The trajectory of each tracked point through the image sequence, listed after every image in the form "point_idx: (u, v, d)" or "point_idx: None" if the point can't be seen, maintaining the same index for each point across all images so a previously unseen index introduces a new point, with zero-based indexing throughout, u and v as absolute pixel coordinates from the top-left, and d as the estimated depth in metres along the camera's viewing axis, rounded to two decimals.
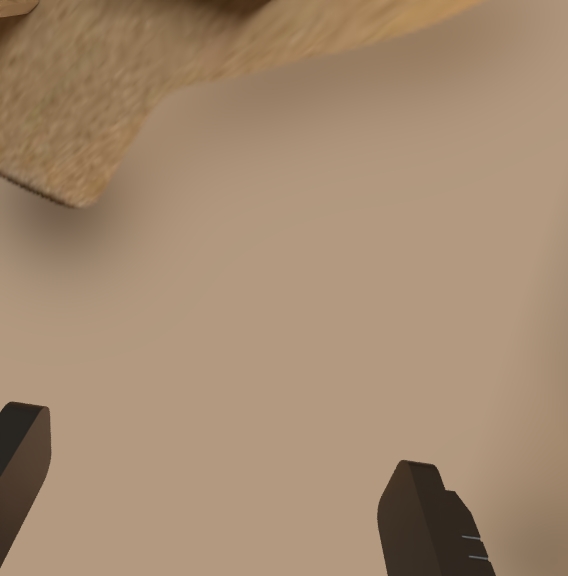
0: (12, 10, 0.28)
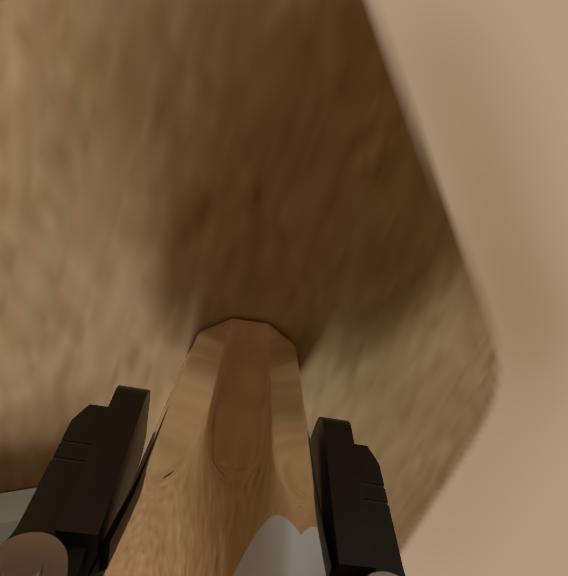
0: None
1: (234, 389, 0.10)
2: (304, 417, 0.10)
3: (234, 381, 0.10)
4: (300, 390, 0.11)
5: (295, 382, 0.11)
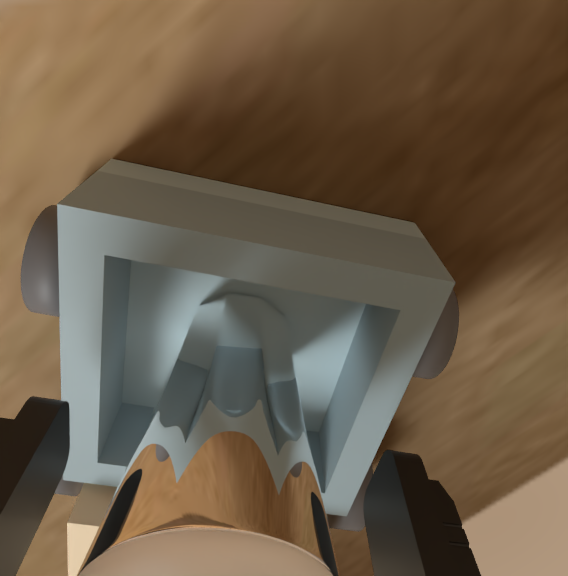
0: (167, 382, 0.11)
1: (232, 350, 0.11)
2: (294, 375, 0.12)
3: (231, 343, 0.11)
4: (291, 353, 0.12)
5: (286, 346, 0.13)
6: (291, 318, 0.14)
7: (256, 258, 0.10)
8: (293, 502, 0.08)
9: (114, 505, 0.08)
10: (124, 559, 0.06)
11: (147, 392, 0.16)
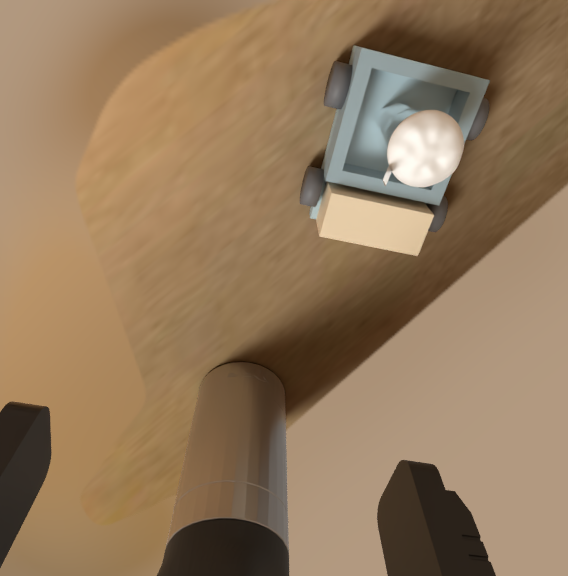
0: (385, 120, 0.32)
1: None
2: None
3: (408, 105, 0.32)
4: None
5: None
6: None
7: (422, 69, 0.31)
8: None
9: (397, 121, 0.28)
10: (413, 115, 0.27)
11: (350, 155, 0.36)
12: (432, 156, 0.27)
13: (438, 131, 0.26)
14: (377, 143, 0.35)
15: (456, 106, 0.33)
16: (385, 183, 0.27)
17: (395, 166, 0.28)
